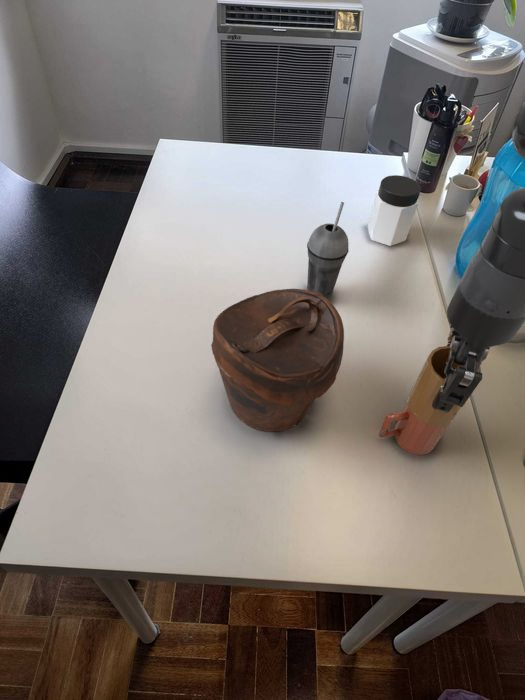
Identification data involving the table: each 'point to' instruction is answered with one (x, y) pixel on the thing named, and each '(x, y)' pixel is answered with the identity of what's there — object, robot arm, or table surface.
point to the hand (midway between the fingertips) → (443, 385)
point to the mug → (412, 432)
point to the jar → (393, 210)
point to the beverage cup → (326, 256)
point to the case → (277, 355)
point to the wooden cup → (432, 390)
